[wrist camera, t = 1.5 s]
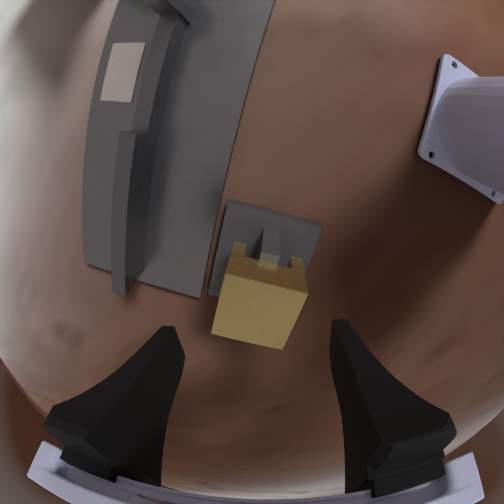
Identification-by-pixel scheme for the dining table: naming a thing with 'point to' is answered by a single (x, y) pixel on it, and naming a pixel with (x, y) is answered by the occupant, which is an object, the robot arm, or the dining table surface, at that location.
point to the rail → (165, 136)
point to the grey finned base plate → (263, 238)
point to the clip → (259, 299)
